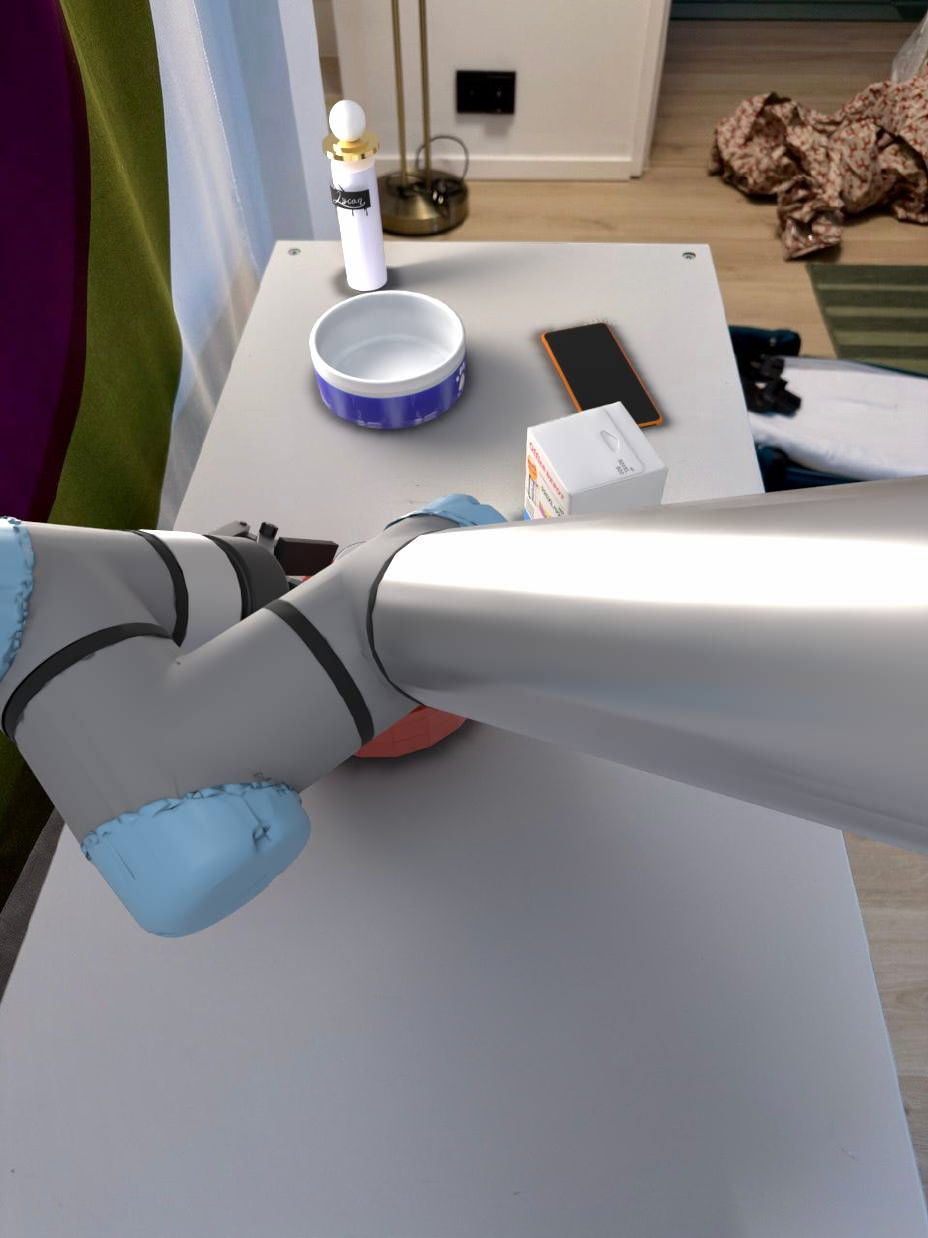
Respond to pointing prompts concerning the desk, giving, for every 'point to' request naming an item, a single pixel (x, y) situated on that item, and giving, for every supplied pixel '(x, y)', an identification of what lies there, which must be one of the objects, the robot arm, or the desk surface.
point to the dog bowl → (389, 358)
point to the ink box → (590, 465)
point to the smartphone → (599, 371)
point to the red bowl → (411, 731)
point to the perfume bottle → (356, 195)
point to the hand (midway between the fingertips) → (396, 598)
